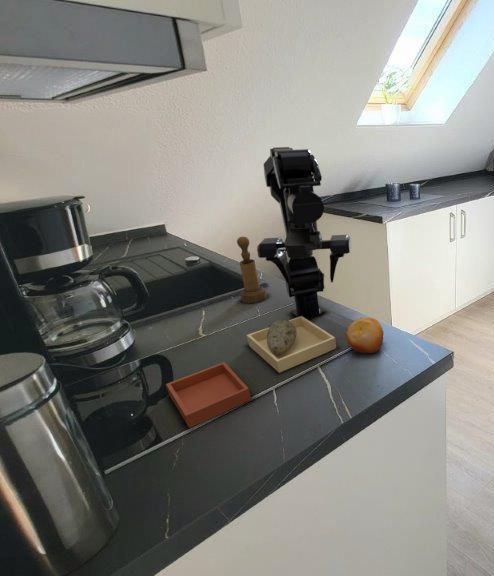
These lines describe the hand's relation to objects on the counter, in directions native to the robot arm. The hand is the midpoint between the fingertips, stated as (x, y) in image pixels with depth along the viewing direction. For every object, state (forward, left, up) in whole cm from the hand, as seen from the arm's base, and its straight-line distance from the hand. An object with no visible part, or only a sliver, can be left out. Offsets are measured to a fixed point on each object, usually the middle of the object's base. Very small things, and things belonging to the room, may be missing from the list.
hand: (311, 283), depth 90 cm
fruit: (+14, +4, -13) cm, 19 cm away
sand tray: (+1, -7, -13) cm, 15 cm away
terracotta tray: (+7, -26, -13) cm, 30 cm away
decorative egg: (-3, -6, -9) cm, 11 cm away
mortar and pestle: (-32, -2, -13) cm, 35 cm away
